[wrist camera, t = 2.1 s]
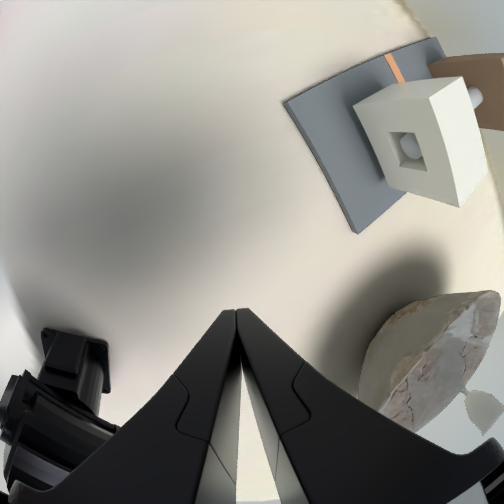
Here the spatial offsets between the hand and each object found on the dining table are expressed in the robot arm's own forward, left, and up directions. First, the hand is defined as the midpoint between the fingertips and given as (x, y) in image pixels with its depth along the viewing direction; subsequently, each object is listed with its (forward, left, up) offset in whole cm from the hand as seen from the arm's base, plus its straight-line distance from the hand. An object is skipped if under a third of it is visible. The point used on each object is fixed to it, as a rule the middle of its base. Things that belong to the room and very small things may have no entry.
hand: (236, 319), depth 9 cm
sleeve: (+11, -12, -9) cm, 19 cm away
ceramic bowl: (-9, -26, -12) cm, 30 cm away
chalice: (-18, -50, -12) cm, 54 cm away
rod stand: (+15, -15, -11) cm, 24 cm away
